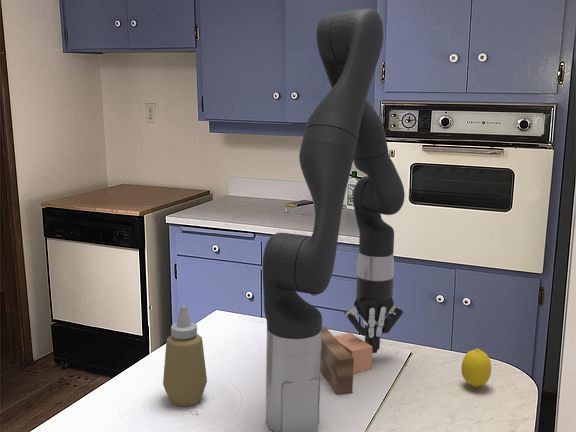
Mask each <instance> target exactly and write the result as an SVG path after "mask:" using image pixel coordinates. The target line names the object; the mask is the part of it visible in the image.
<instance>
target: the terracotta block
mask: <svg viewBox="0 0 576 432" xmlns="http://www.w3.org/2000/svg"><path fill="white" fill-rule="evenodd" d="M333 336H334V337H335V338H336V339H337V340H338V342H339V343H340V344H341V345H342V346H343V347H344V348H345V349H346V350H347V352H348V353H349V354H350V355H351V356H352V357H353V358H354V365H353V375H354V374H357V373H361V372H366V371H368V370H369V371H370V370H372V366H373V365H372V364H373V363H372V361H373V353H372V346H371V345H369V344H368V343H366V342H365V340H363V339H362V338H360V337H358V336H357V335H355V334H353V333H352V332H346V333H342V334H339V335H333Z"/></svg>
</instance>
